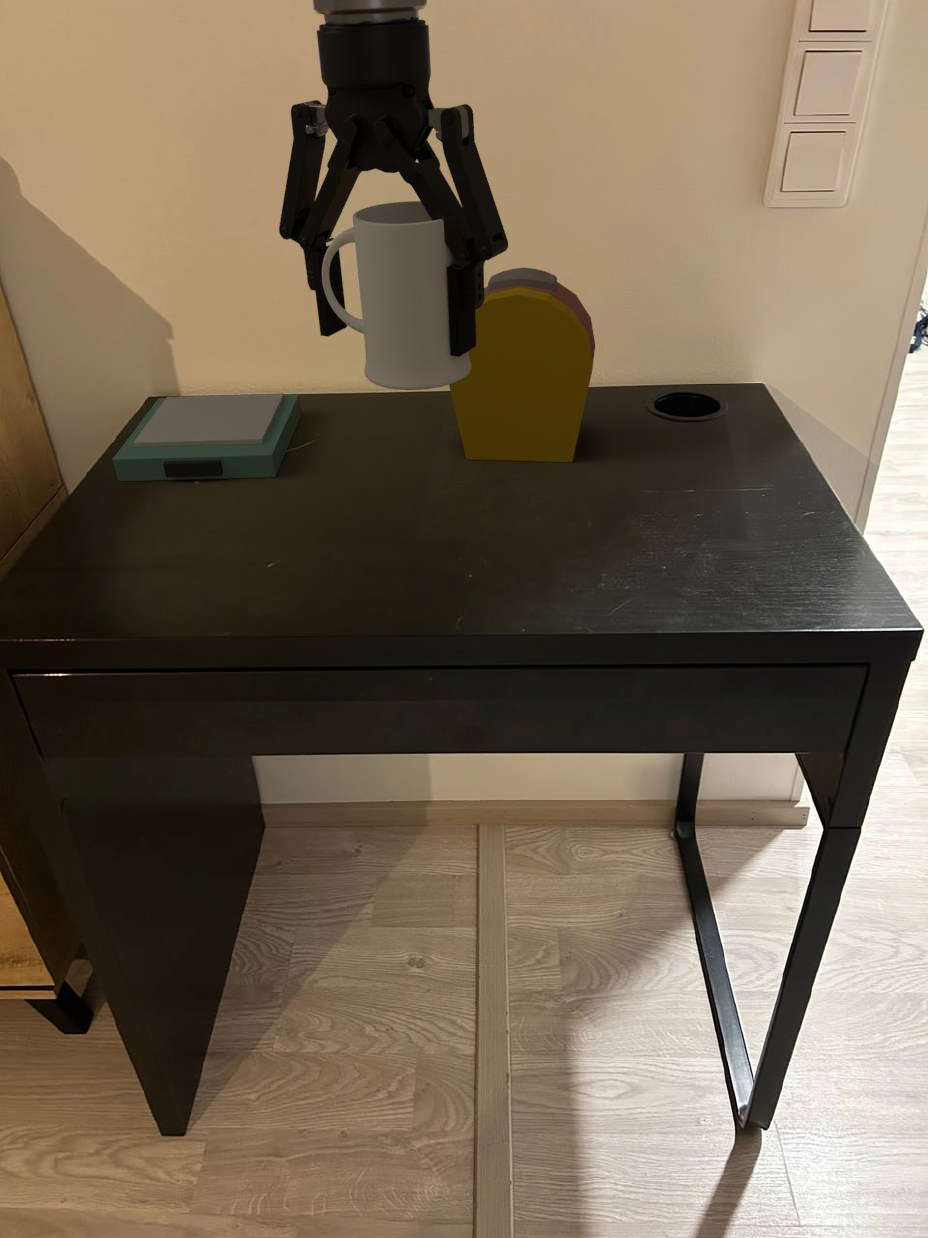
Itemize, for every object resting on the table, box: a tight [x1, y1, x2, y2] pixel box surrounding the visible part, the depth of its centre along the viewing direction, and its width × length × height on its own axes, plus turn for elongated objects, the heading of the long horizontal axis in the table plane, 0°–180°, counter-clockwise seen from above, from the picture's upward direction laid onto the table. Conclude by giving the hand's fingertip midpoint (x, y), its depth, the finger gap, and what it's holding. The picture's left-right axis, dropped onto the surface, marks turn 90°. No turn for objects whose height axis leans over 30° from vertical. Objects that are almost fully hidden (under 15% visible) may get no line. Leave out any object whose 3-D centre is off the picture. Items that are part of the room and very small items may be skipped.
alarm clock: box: [448, 267, 596, 463], centre depth 100 cm, size 15×8×18 cm, turn 81°
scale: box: [112, 393, 303, 482], centre depth 107 cm, size 17×18×3 cm
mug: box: [322, 200, 471, 391], centre depth 74 cm, size 12×8×12 cm
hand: (396, 340), depth 76 cm, fingers closed on mug, 11 cm apart
